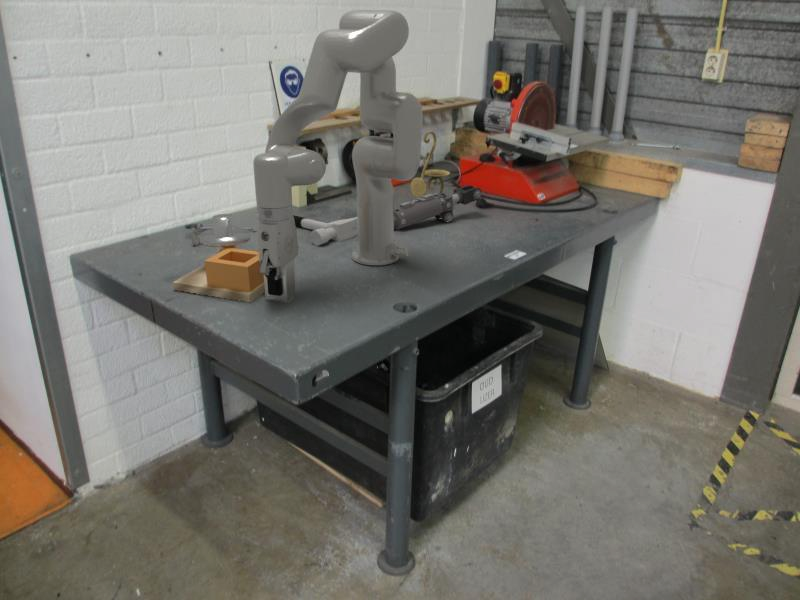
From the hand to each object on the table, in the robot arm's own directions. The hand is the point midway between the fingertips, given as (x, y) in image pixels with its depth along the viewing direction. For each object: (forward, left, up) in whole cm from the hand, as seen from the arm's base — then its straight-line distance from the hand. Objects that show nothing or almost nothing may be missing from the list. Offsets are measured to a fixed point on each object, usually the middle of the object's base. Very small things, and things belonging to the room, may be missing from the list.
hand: (280, 290), depth 143 cm
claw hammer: (+16, -50, -3) cm, 53 cm away
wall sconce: (-10, -89, -2) cm, 90 cm away
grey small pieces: (+35, -32, -2) cm, 48 cm away
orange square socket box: (+15, -5, -2) cm, 16 cm away
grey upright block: (0, 0, -2) cm, 2 cm away
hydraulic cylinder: (-16, -68, -2) cm, 70 cm away
